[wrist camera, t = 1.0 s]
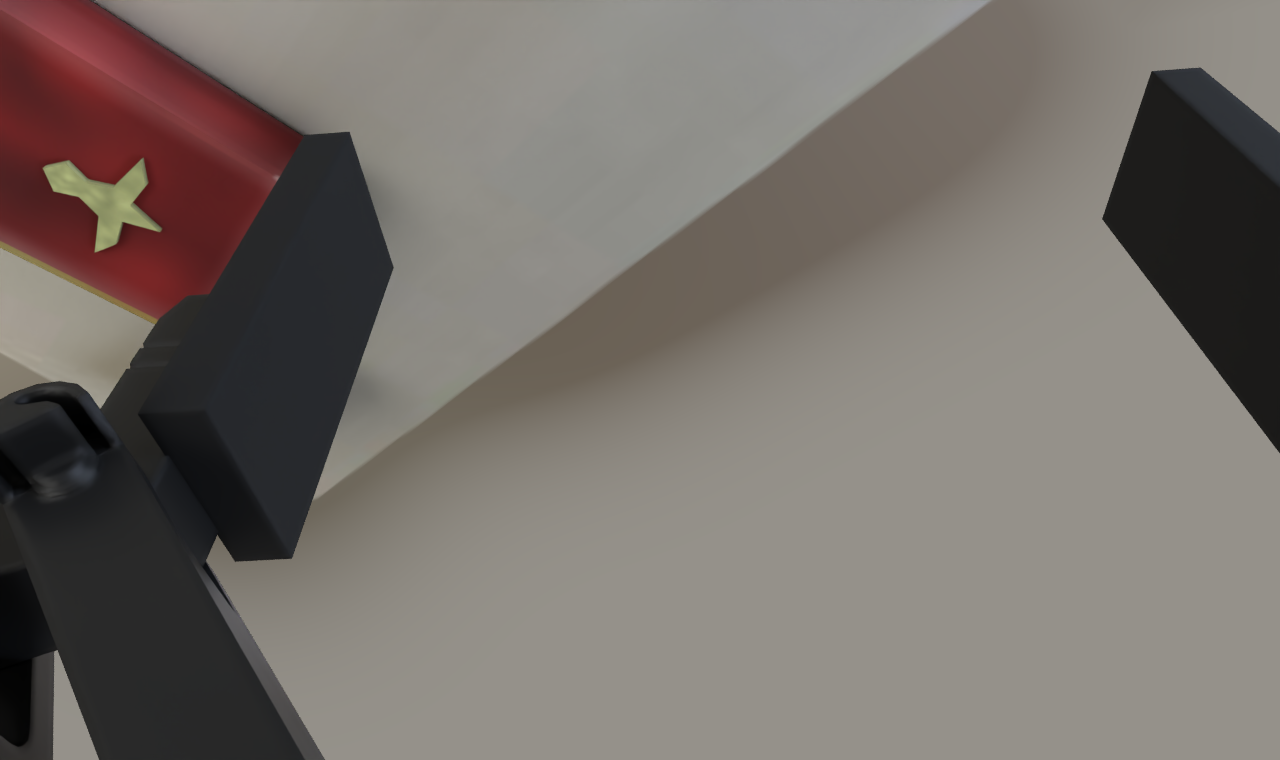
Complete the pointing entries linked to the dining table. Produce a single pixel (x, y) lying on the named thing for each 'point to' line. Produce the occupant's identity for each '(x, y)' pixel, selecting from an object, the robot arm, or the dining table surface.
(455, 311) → the dining table surface
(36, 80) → the hardcover book
